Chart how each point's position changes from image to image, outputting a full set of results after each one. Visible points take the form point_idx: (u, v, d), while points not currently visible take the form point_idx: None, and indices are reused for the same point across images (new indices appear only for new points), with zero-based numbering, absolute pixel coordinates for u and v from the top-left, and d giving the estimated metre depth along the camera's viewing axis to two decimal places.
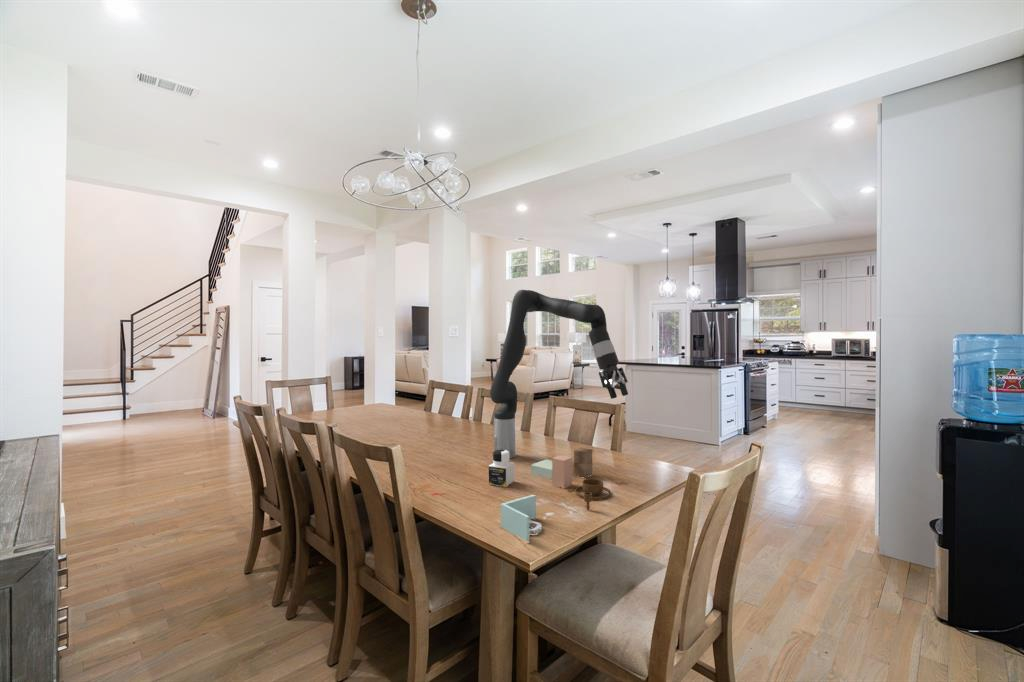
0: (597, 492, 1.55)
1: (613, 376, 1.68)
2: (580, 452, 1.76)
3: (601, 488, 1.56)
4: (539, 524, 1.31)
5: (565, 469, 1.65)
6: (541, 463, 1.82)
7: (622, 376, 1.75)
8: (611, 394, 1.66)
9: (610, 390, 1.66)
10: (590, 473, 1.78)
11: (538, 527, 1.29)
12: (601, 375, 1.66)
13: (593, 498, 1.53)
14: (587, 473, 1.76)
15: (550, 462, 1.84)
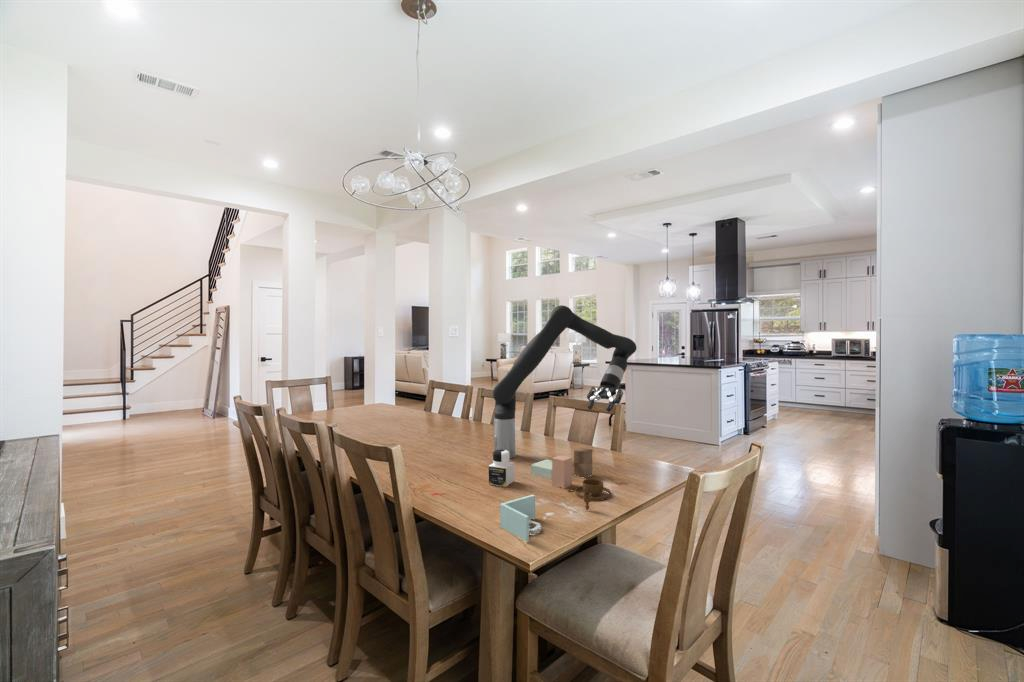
0: (597, 492, 1.55)
1: None
2: (580, 452, 1.76)
3: (601, 488, 1.56)
4: (538, 524, 1.31)
5: (565, 469, 1.65)
6: (541, 463, 1.82)
7: (592, 395, 1.94)
8: None
9: None
10: (590, 473, 1.78)
11: (537, 527, 1.29)
12: (620, 393, 1.86)
13: (593, 498, 1.52)
14: (587, 473, 1.76)
15: (550, 462, 1.84)
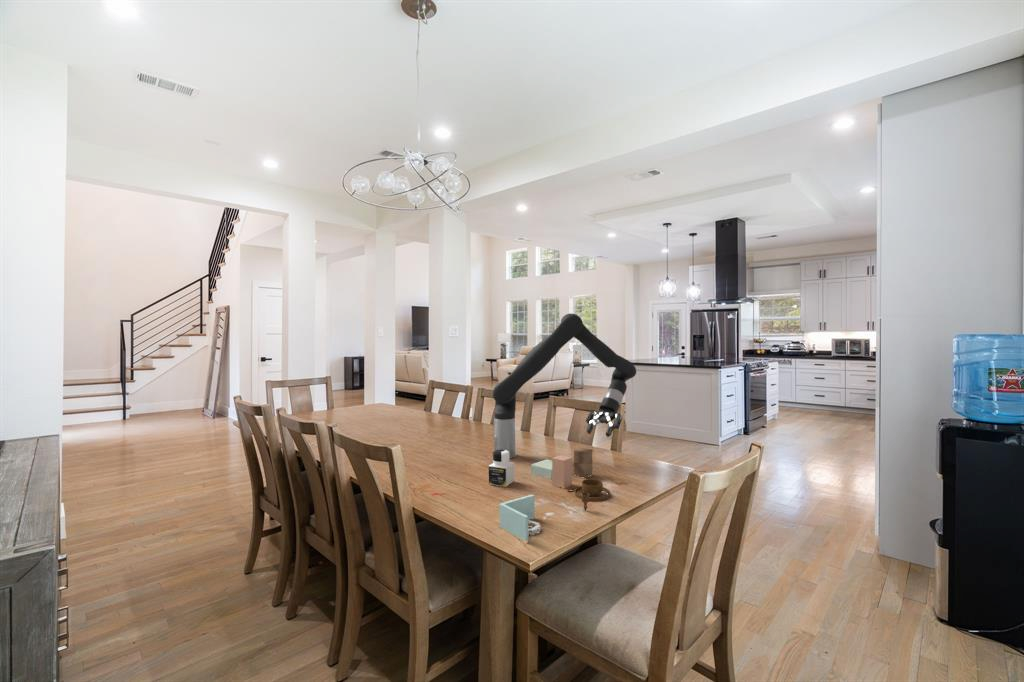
0: (596, 493, 1.54)
1: None
2: (580, 452, 1.76)
3: (600, 489, 1.55)
4: (538, 524, 1.31)
5: (565, 469, 1.65)
6: (541, 463, 1.82)
7: (592, 419, 1.94)
8: None
9: None
10: (590, 473, 1.78)
11: (537, 527, 1.29)
12: (620, 417, 1.86)
13: (592, 498, 1.52)
14: (587, 473, 1.76)
15: (550, 462, 1.84)
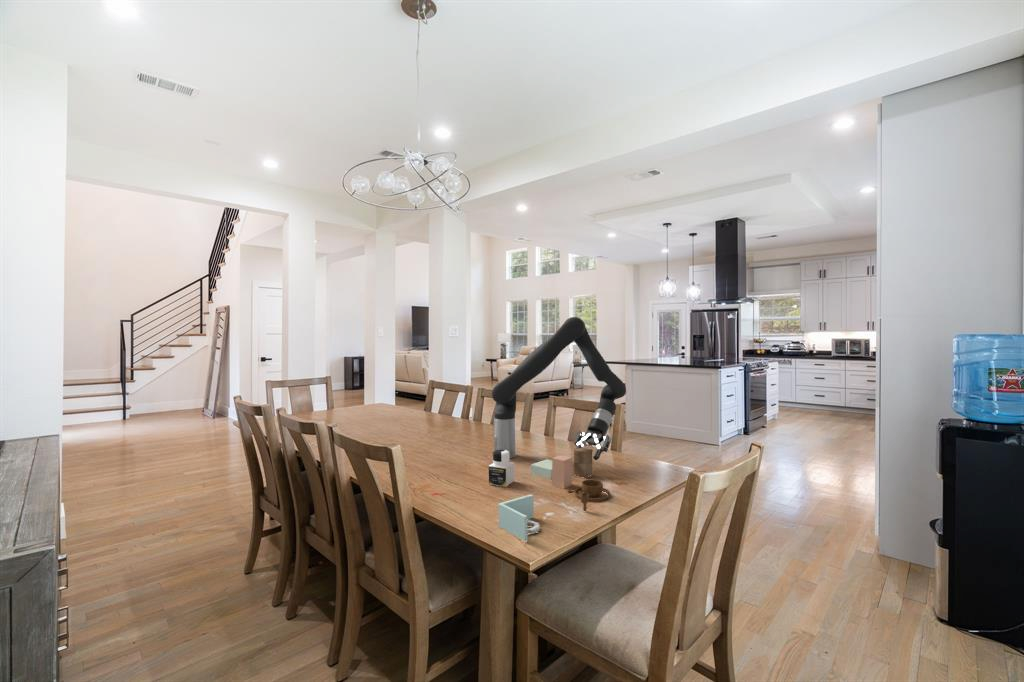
0: (596, 493, 1.54)
1: None
2: (580, 452, 1.76)
3: (600, 489, 1.55)
4: (537, 524, 1.31)
5: (565, 469, 1.65)
6: (541, 463, 1.82)
7: (579, 440, 1.87)
8: None
9: None
10: (590, 473, 1.78)
11: (536, 527, 1.29)
12: (608, 440, 1.79)
13: (592, 499, 1.51)
14: (587, 473, 1.76)
15: (550, 462, 1.84)
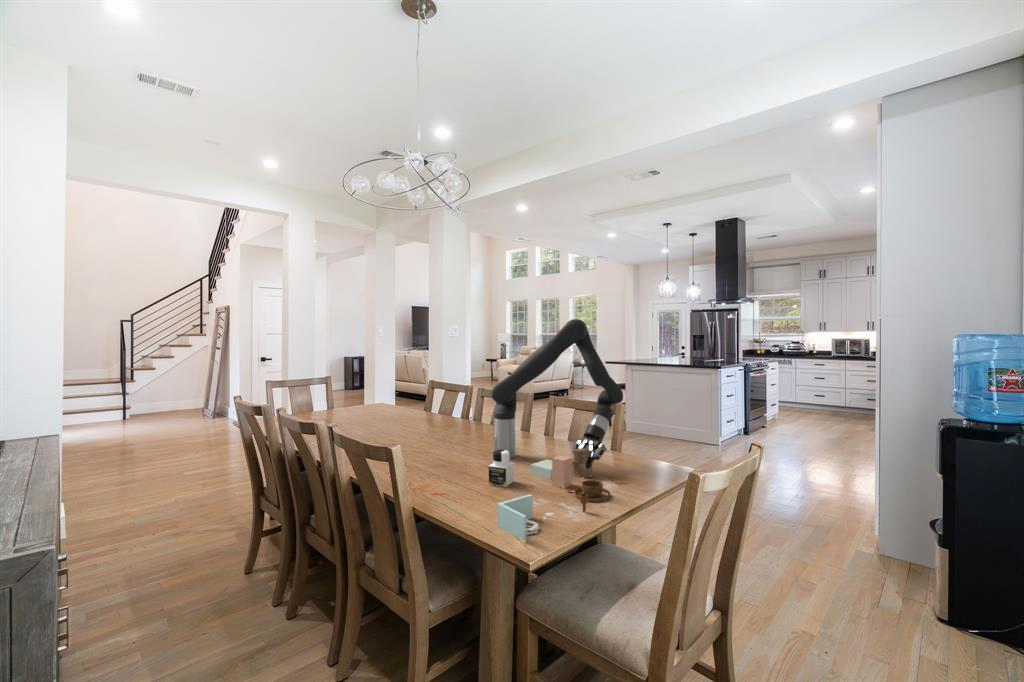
0: (596, 494, 1.53)
1: None
2: (580, 452, 1.76)
3: (600, 490, 1.54)
4: (536, 524, 1.31)
5: (565, 469, 1.65)
6: (541, 463, 1.82)
7: (577, 448, 1.84)
8: None
9: None
10: (590, 473, 1.78)
11: (535, 527, 1.29)
12: (603, 449, 1.77)
13: (591, 500, 1.51)
14: (587, 473, 1.76)
15: (550, 462, 1.84)
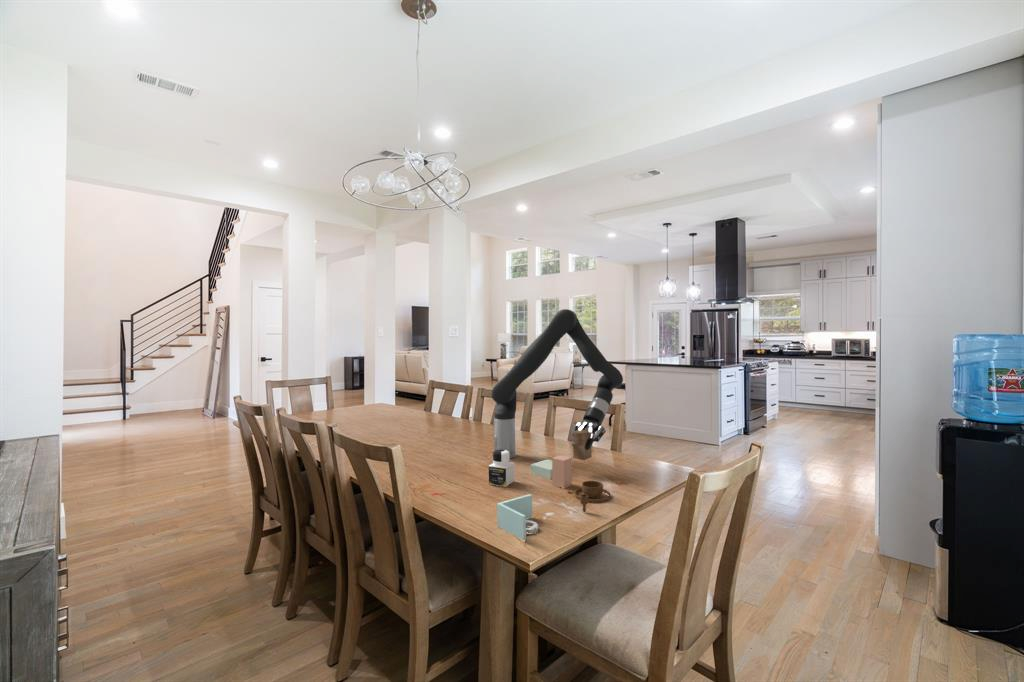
0: (596, 494, 1.53)
1: None
2: (579, 434, 1.76)
3: (600, 490, 1.54)
4: (535, 523, 1.31)
5: (565, 469, 1.65)
6: (541, 463, 1.83)
7: None
8: None
9: None
10: (589, 455, 1.78)
11: (534, 526, 1.30)
12: (602, 431, 1.77)
13: (591, 500, 1.50)
14: (586, 454, 1.76)
15: (550, 462, 1.84)
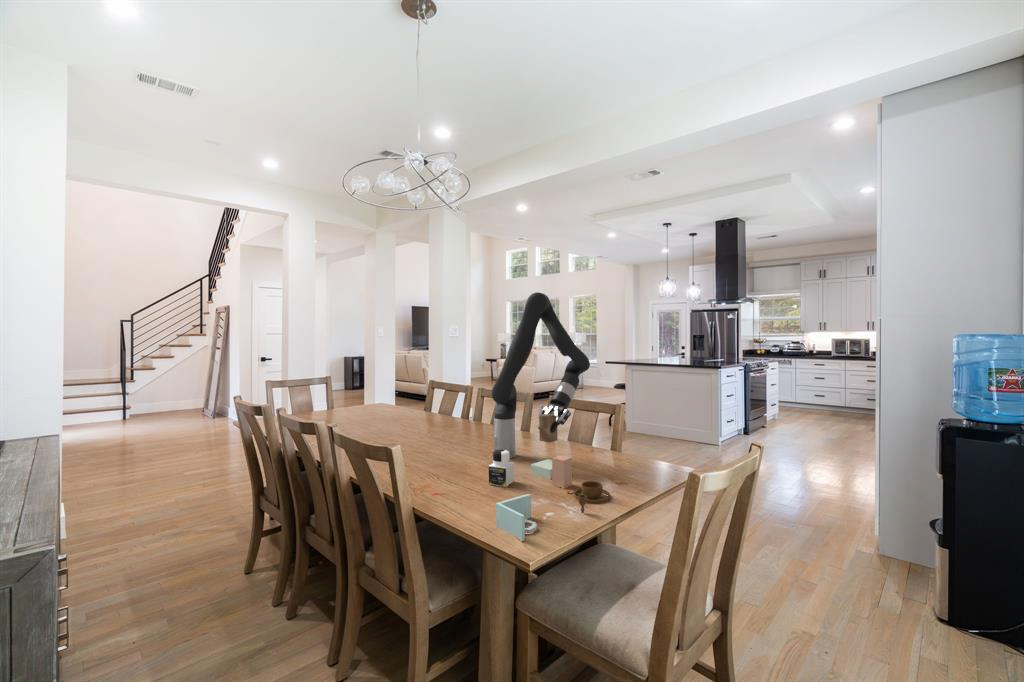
0: (595, 495, 1.52)
1: None
2: (545, 417, 1.79)
3: (600, 491, 1.53)
4: (534, 523, 1.31)
5: (565, 469, 1.65)
6: (541, 463, 1.83)
7: None
8: None
9: None
10: (555, 438, 1.81)
11: (533, 526, 1.30)
12: (567, 414, 1.80)
13: (590, 501, 1.50)
14: (552, 437, 1.79)
15: (551, 462, 1.84)
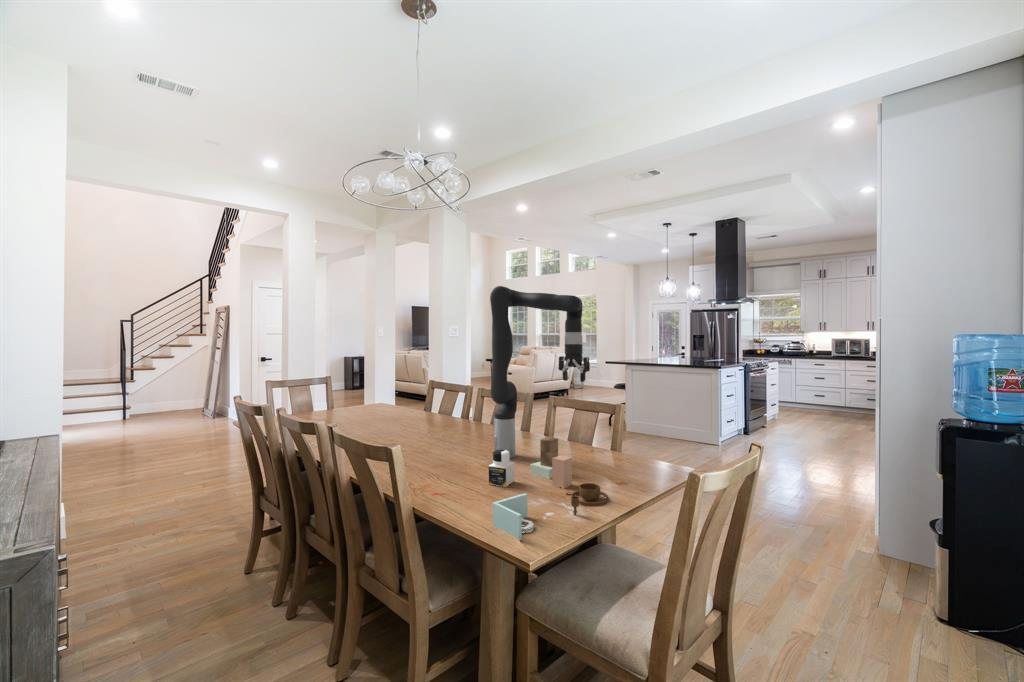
0: (592, 497, 1.50)
1: None
2: (546, 441, 1.79)
3: (597, 493, 1.51)
4: (531, 522, 1.32)
5: (565, 469, 1.65)
6: None
7: (563, 364, 2.02)
8: None
9: None
10: None
11: (530, 525, 1.30)
12: (587, 361, 1.93)
13: (586, 503, 1.48)
14: None
15: None
